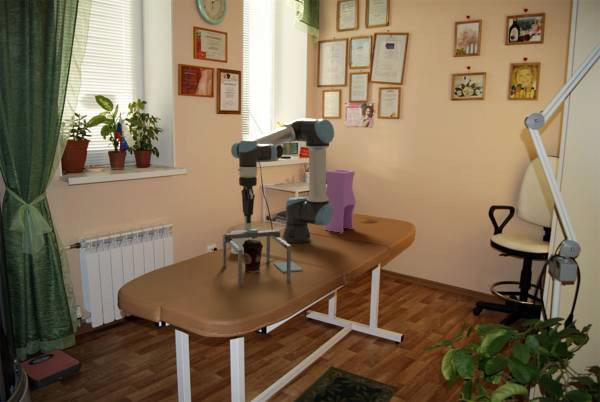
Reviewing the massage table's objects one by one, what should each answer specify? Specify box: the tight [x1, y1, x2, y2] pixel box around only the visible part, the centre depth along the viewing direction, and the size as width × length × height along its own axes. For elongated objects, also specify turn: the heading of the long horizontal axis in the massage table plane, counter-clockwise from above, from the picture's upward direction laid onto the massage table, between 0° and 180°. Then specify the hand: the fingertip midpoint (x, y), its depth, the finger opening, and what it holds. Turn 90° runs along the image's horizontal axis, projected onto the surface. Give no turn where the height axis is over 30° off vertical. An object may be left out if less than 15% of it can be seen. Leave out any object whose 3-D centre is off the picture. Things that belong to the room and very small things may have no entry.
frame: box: [222, 232, 292, 288], centre depth 202 cm, size 28×22×15 cm
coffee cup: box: [242, 239, 264, 273], centre depth 207 cm, size 9×8×13 cm
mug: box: [230, 229, 254, 256], centre depth 233 cm, size 12×8×10 cm
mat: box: [273, 261, 303, 273], centre depth 213 cm, size 12×9×1 cm
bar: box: [222, 228, 281, 244], centre depth 205 cm, size 3×24×5 cm, turn 112°
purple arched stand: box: [323, 168, 356, 234], centre depth 282 cm, size 14×14×35 cm
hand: (247, 229), depth 211 cm, fingers closed
